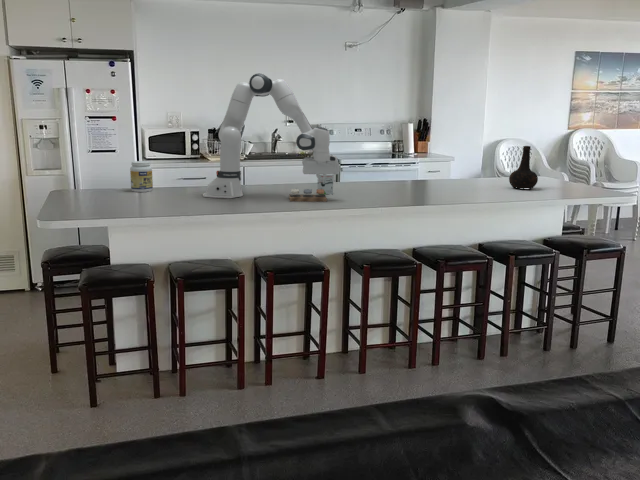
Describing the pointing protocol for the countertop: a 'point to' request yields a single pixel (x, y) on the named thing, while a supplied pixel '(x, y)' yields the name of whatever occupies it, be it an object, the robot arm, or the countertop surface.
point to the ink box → (326, 183)
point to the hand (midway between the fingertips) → (320, 182)
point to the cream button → (295, 191)
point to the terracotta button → (320, 191)
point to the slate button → (307, 191)
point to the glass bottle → (524, 172)
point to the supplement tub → (141, 176)
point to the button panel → (307, 198)
